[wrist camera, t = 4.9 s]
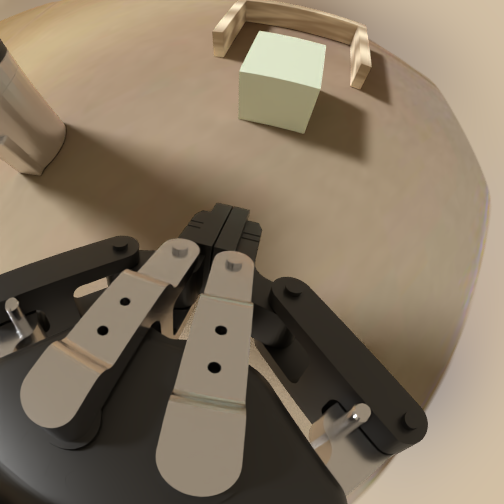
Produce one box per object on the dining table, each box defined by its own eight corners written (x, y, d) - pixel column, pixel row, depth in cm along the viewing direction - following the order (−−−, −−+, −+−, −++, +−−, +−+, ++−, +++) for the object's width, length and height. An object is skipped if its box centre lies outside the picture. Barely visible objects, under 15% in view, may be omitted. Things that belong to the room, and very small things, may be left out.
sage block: (303, 134, 30) (320, 89, 22) (238, 119, 30) (239, 71, 22) (312, 87, 32) (325, 45, 24) (255, 74, 32) (259, 30, 24)
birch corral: (359, 89, 32) (371, 67, 27) (214, 56, 32) (212, 31, 27) (357, 44, 35) (366, 25, 30) (239, 17, 35) (240, -4, 30)
